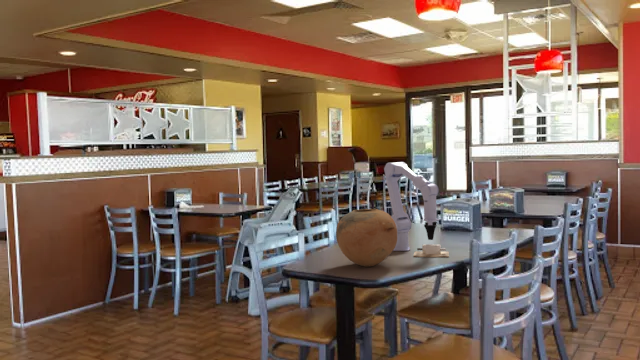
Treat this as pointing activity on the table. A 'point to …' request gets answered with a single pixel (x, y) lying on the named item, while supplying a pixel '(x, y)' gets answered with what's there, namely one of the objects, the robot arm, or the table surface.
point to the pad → (420, 254)
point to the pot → (366, 236)
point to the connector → (431, 249)
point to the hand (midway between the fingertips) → (430, 238)
